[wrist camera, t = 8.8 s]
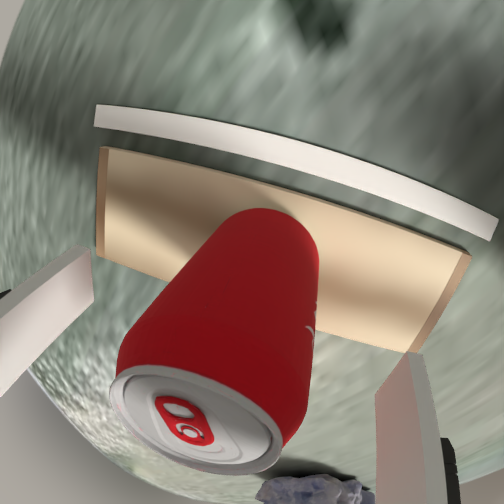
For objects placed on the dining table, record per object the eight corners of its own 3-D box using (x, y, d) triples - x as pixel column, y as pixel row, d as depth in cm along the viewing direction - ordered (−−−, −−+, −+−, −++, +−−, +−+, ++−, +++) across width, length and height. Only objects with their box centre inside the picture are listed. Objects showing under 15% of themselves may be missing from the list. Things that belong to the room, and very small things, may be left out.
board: (105, 146, 18) (99, 147, 18) (468, 252, 16) (472, 256, 15) (101, 251, 22) (96, 254, 21) (413, 350, 19) (415, 355, 19)
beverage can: (225, 302, 20) (141, 461, 10) (204, 209, 18) (59, 342, 7) (323, 299, 19) (305, 489, 8) (315, 198, 16) (291, 365, 6)
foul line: (99, 104, 17) (96, 104, 17) (496, 217, 14) (499, 219, 14) (96, 126, 18) (93, 126, 17) (487, 239, 15) (489, 241, 15)
